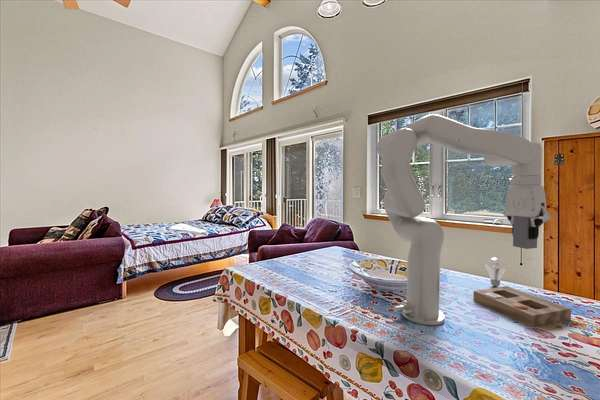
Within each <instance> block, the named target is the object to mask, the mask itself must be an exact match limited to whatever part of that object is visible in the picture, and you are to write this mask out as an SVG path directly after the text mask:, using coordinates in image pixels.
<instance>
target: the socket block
mask: <svg viewBox="0 0 600 400" xmlns="http://www.w3.org/2000/svg"><path fill="white" fill-rule="evenodd" d="M473 301H475V303H479V304H481V305H483V306H485V307H488V308H490V309H492V310H494V311H496V312H499V313H500V314H503V315H505V316H507V317H509V318H511V319H514V320H515V321H519V322H520V323H522V324H525V325H527V326H529V327H531V328H535V327H536V328H537V327H539V326H545V325H550V324H551V325H552V324H555V323H561V322H565V321H566V322H567V321H570V320H572V319H571V318H572V308H571V307H568V306H566V305H562V304H559V303H556V302H555V301H551V300H548V299H545V298H542V297H539V296H536V295H534V294H530V293H528V292H525V291H522V290H520V289H517V288H514V287H510V286H508V285H505V286H497V287H491V288H485V289H484V288H483V289H476V290H473Z"/></svg>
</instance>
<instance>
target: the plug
mask: <svg viewBox="0 0 600 400" xmlns="http://www.w3.org/2000/svg"><path fill="white" fill-rule="evenodd" d="M529 227H531V224H530V219H529V217H519V216H514V219H513V233H512V246H513V247H515V248H521V249H525V250H529V249H537V248H538V239H529Z"/></svg>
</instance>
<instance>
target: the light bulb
mask: <svg viewBox="0 0 600 400" xmlns="http://www.w3.org/2000/svg"><path fill="white" fill-rule="evenodd" d="M485 269H486V271H487V272H488V275H489V278H490V284H491V286H493V288H497V287H500V285H501V280H502V277H503V275H504V274H505V273H506V271H507V264H506V263H505V261H504V260H503V259H501V258H499V257H491V258H489V259H487V260H486V262H485Z"/></svg>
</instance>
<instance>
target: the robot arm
mask: <svg viewBox="0 0 600 400" xmlns="http://www.w3.org/2000/svg"><path fill="white" fill-rule="evenodd" d="M427 144H428V145H429V144H432V145H435V146H437V147H440V148H443V149H446V150H449V151H452V152H454V153H456V154H462V155H483V159H484V162H485V163H486V164H487V165H488V166H491V167H493V168H503V167H505V168H506V167H511V178H509V179H508V182H509V183H510V184H511V185H509V186H508V188H507V192H506V196H505V204H504V211H503V212H502V215H503V216H504V217H505V218H507V220H508V222H509V223H510V225H511V226H512V227H511V228H512V230H511V231H512V232H511V233H512V234H513V219H514V216H519V217H529V219H530V224H531V227H529V239H537V240H538V238H539V233H540V232H539V231H540V228H539V227H541V226H542V225H543V224H544V223H546V222H547V221H549V220H551V219H552V216H551V215H550V213H549V212H548V210H547V198H546V192H545V191H546V190H545V188H544V185H542V168H543V167H542V165H543V164H542V161H543V157H542V156H543V147H542V144H541V143H540V142H531V141H530V140H529V139H526V138H525V137H522V136H519V135H516V134H514V133H511V132H506V131H502V130H496V129H495V130H494V129H487V128H481V127H473V126H470V125H467V124H464V123H462V122H459V121H457V120H453V119H451V118H449V117H445V116H442V115H440V114H434V113H431V114H428V115H425V116H423V117H421V118H419V119H417V120H414V121H413V122H410V123H409V124H407V125H405V126H403V127H400V128H398V129H396V130H393V131H392V132H390V133H387V134H385V135H383V136H382V137H380V139H379V140H378V142H377V144H376V152H377V153H378V156H380V157H381V158H382V159H381V165H380V173H381V176H382V177H381V178H382V180H383V182H384V185H385V187H386V190H387V191H386V192H385V193H384V195H383V200H382V205H383V208H384V210H385V213H386V215H387V217H388V219H389V222H390V224H391V226H392V227H393V228H392V229H394V231H395V233H396V235H397V236H398V237H399V239H401V240H402V241H404V242H406V243H408V244H410V246H409V250H408V252H407V261H406V267H407V268H406V299H405V300H403V303H402V304H401V305H394V306H392V307H393V311H394V313H401V315H402V316H403V317H404V319H407V320H408V321H410V322H412V323H416V324H419V325H424V326H425V325H426V326H437V325H441V324H442V323H444V322H445V314H444V313H443V312H442V311H441V310H440V290H441V289H440V286H441V285H440V284H441V283H440V282H441V281H440V280H441V277H440V275H441V254H442V247H443V243H444V239H445V233H444V230H443V227H442V226H441V224H440V223H439V222H437V221H435V220H434V219H432V218H429V217H424V216H421V215H422V214H423V213H424V211H425V209H426V201H425V198H424V197H423V194H422V192H421V189H420V188H419V186H418V184H417V182H416V179H415V177H414V175H413V172H412V170H411V160H412V157H413V154H414V152H415V151H416V149H417V148H418V147H421V146H424V145H427Z"/></svg>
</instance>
